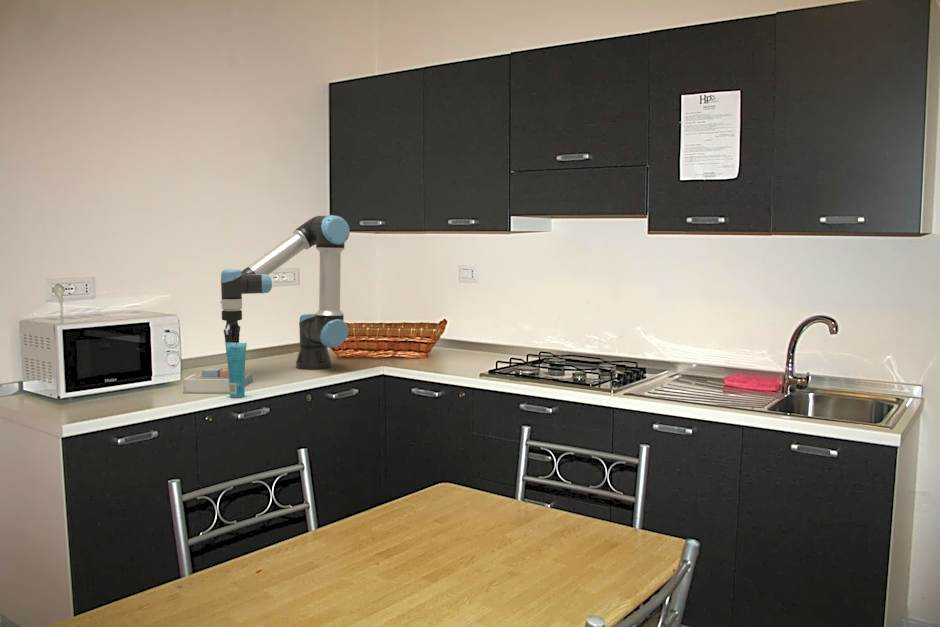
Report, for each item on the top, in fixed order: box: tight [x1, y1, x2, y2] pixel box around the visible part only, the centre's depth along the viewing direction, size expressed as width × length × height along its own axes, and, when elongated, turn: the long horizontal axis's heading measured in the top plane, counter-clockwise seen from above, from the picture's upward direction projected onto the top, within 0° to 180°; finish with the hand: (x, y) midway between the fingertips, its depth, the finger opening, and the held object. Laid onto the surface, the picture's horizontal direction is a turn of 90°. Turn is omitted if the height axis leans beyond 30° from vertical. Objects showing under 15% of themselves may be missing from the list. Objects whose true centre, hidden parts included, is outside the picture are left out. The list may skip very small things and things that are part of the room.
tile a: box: [220, 367, 229, 377], centre depth 310 cm, size 6×6×2 cm
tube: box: [224, 342, 248, 398], centre depth 285 cm, size 7×5×19 cm, turn 96°
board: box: [196, 373, 253, 387], centre depth 308 cm, size 18×13×3 cm
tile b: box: [201, 367, 224, 377], centre depth 310 cm, size 6×6×2 cm
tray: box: [182, 373, 230, 395], centre depth 297 cm, size 18×11×5 cm, turn 89°
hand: (232, 370), depth 314 cm, fingers closed
